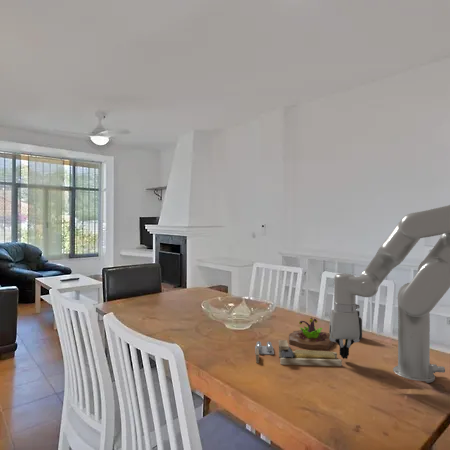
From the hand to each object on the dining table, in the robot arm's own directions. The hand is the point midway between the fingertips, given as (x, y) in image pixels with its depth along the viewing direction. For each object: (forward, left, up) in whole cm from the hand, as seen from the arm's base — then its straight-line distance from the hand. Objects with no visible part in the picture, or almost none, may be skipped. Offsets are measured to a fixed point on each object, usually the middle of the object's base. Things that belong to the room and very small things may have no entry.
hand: (344, 357), depth 130 cm
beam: (+13, 0, -2) cm, 13 cm away
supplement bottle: (-12, -29, -2) cm, 31 cm away
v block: (+29, -9, -2) cm, 30 cm away
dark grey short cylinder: (+21, 0, -2) cm, 21 cm away
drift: (+11, 0, -2) cm, 11 cm away
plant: (+8, -22, -2) cm, 24 cm away
